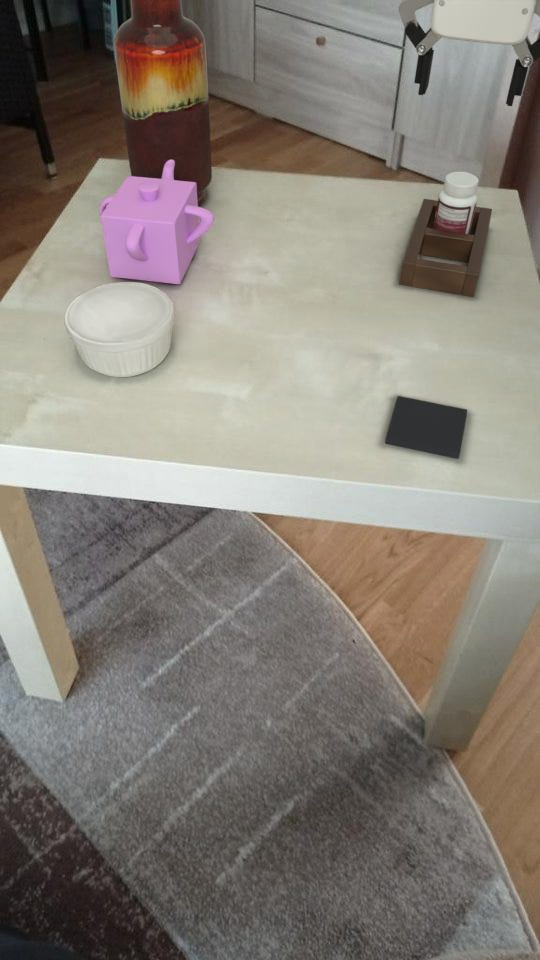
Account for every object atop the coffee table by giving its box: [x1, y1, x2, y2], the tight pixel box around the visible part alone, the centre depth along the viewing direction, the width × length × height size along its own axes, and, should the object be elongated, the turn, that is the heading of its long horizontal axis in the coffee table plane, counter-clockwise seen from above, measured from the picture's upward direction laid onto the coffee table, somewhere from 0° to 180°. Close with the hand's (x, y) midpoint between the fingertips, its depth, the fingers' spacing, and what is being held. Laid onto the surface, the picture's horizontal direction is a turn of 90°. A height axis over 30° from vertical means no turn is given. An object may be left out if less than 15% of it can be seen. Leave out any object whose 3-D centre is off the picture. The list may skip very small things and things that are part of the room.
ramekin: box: [63, 281, 176, 378], centre depth 78 cm, size 11×11×5 cm
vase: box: [113, 0, 213, 207], centre depth 93 cm, size 11×11×26 cm
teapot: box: [98, 160, 215, 285], centre depth 88 cm, size 18×14×10 cm
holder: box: [398, 198, 493, 298], centre depth 92 cm, size 9×16×3 cm, turn 163°
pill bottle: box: [432, 171, 479, 235], centre depth 93 cm, size 5×5×8 cm
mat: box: [384, 395, 468, 459], centre depth 72 cm, size 7×7×1 cm
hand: (465, 96), depth 82 cm, fingers open, 9 cm apart
